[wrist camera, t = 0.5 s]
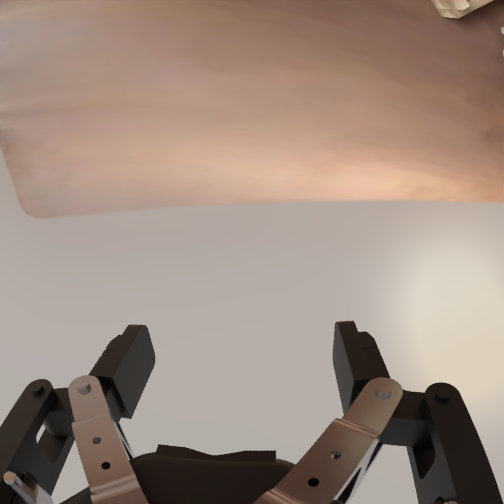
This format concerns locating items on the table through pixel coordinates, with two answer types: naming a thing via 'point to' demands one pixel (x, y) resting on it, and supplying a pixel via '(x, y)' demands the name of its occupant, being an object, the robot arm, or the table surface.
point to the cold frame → (457, 7)
